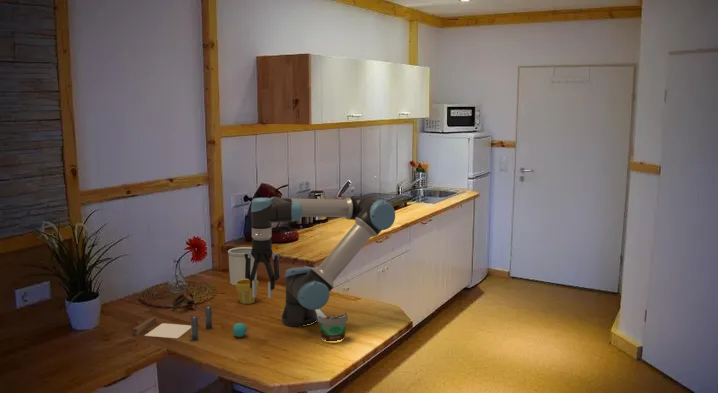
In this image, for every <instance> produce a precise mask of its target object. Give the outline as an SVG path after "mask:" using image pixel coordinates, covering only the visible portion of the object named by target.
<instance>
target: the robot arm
mask: <svg viewBox="0 0 718 393" xmlns="http://www.w3.org/2000/svg"><path fill="white" fill-rule="evenodd" d="M250 212H251V213H250V214H251V215H250V216H251V238H252V239H251V247H252V251H251V252H250V253H246V254H244V256H245V259H246V263H245V278H246V279H249V280H250V288H252V297H255V296H256V297H257V296H258V295H257V293H258V291H257V290H258V289H257V281H258V280H257V279H254V278H255V275H256V271H257V272H258V267H259V264H260V263H263V264H264V266H265V268H266V273H267V275H268V279H269V281H268V282H267V289H268V290H267V293H268V294H267V296H268V297H267V299H271V298H273V290H275V287H276V285H275V283H276V282H275V281H278V280H279V279H280V264H279V262H280V261H279V259H280V254H279V253H274V252H273V250H272V249H273V245H272V243H273V241H272V235H273V234H272V231H273V230H272V223H286V222H287V223H288V222H296V221H297V222H298V221H300V220H301V219H302V218H304V217H306V218H307V217H308V218H309V217H310V218H312V217H314V218H345V220H347V221H348V220H349V221H350V220H353V221H355V222H354V223H355V224H353V226H352V227H351V228H350V229H349V231H348V232H346V234H345V235H344V236H343V237H342V238H341V239H340V241H339V242H338V243H337V244H336V246H335V247H334V248H333V249H332V250H331V251H330V253H329V254H328V255H327V256H326V257H325V259H323V261H322V262H321V263H320V264H319V266H317V267H309V266H306V267H305V266H304V267H301V266H299V267H297V266H296V267H292V268H288V269H286V270H285V276H284V279H285V305H284V308H283V311H282V313H281V323H282V324H283V323H284V324H283V325H285V324H286V325H285V326H287V325H291V326H290V327H293V326H303V325H307V324H311V323H313V322H315V321H316V320H317V321H318V314H317V310H319V309H321V308H323V307H324V306H326V304H327V303H328V301H329V299H330V292H331V291H332V290H333V288H335V287H334V282H335V280H336V279H337V278H339V275H341V273H342V272H343V271H344V270H345V269H346V267H347V266H348V265H349V264H350V262H352V260H353V259H354V258H355V256H357V255H358V253H359V252H360V251H361V250H362V248H364V247H365V245H366V244H367V242H368V241H369V240H370V239H371V238H374V237H377V236H379V234H380V233H381V232H382V231H385V230H389V229H390V228H391V227H392V226H393V224H394V222H395V221H396V220H395V219H396V210H395V209H394V206H393V205H392V204H391V203H390V202H388V201H387V200H384V199H380V198H375V197H373V196H359V197H358V196H353V197H352V196H349V197H346V198H345V199H338V198H337V199H336V198H335V199H332V198H327V199H326V198H285V197H282V198H281V197H279V196H272V197H256V198H253V199H252V200H251V210H250ZM251 255H252V256H253V258H254V259H255V260H254V265H253V268H252V272H251V275H250V268H251ZM271 258H272V260H273V263H272V264H273V268H272V264H271ZM256 297H255V298H256Z"/></svg>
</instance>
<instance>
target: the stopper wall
mask: <svg viewBox="0 0 718 393" xmlns="http://www.w3.org/2000/svg"><path fill="white" fill-rule="evenodd" d="M156 318H157V317H156V316H154V317H153V316H150V317H149V318H148V319H145V320H144V321H142V322H141V323H140V324H138V325H136V326H135V327H134V328H132V336H139V335H140V334H142V333H143V332H144V331H145V332H146V330H148V329H149V328H151V327H152V326H154V325H156V323H157V321H156V320H157V319H156Z"/></svg>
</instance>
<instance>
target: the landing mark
mask: <svg viewBox="0 0 718 393" xmlns="http://www.w3.org/2000/svg"><path fill="white" fill-rule="evenodd" d="M189 330H191V324H190V325H188V324H177V323H165V322H164V323H161V324H159V325H158V326H156V327H154V329H152V330H150V331H149V332H147V333H146V334H144V337H153V338H154V337H155V338H164V339H165V338H167V339H179V338H180V337H181V336H183V335H184V334H186V332H188V331H189Z"/></svg>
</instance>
